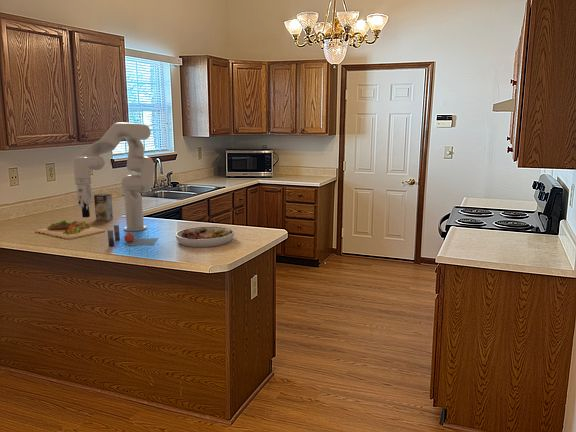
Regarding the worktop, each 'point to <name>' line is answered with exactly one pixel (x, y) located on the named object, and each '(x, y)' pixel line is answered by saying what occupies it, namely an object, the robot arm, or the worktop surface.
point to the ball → (129, 237)
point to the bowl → (205, 236)
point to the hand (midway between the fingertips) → (86, 217)
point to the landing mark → (142, 242)
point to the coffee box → (103, 206)
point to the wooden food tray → (70, 229)
